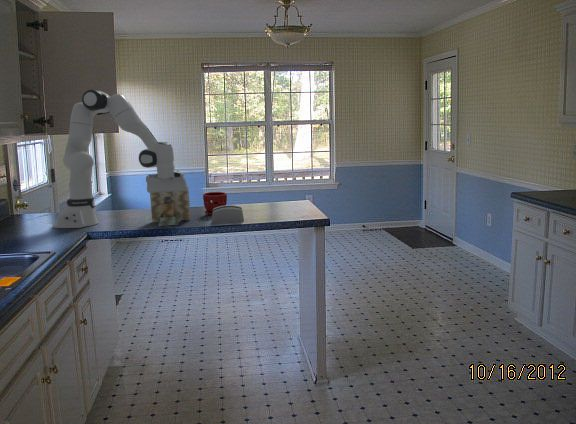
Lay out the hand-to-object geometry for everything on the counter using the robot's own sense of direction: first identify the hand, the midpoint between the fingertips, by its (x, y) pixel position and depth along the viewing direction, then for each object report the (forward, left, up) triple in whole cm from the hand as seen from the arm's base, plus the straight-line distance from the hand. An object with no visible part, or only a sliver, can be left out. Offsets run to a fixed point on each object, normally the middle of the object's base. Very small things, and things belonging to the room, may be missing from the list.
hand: (168, 200), depth 286 cm
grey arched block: (+30, -4, -12) cm, 33 cm away
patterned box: (0, 0, -12) cm, 12 cm away
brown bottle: (0, 0, -9) cm, 9 cm away
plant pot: (+23, +20, -12) cm, 33 cm away
